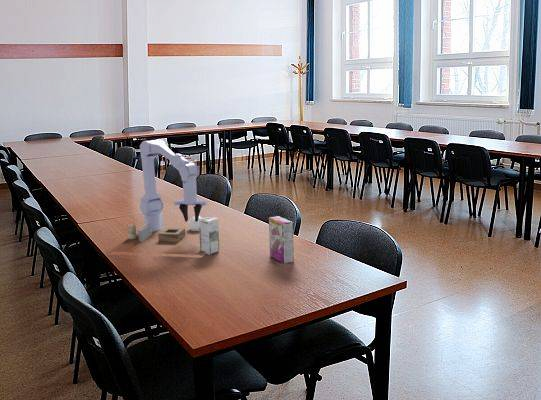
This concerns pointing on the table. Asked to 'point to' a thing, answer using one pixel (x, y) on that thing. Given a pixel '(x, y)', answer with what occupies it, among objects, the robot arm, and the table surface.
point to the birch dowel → (131, 231)
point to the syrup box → (209, 235)
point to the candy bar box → (281, 239)
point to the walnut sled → (171, 235)
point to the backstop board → (145, 232)
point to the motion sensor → (194, 223)
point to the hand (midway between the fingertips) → (191, 221)
